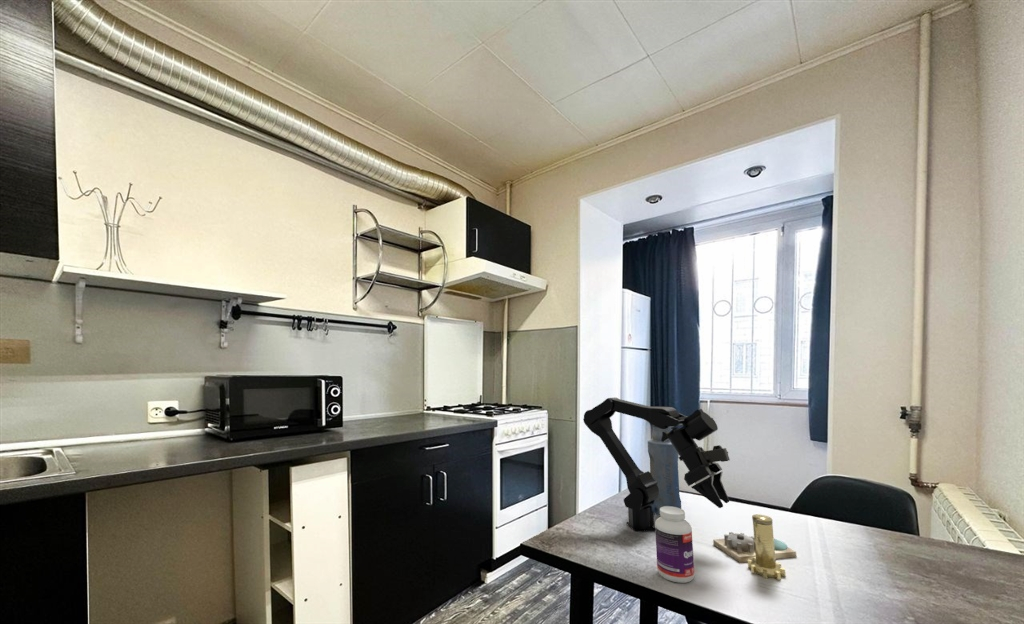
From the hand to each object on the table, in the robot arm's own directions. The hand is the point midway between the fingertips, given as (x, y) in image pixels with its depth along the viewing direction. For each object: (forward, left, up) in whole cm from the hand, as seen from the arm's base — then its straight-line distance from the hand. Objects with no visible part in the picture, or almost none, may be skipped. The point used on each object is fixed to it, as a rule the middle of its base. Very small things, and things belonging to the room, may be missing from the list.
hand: (724, 504), depth 103 cm
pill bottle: (-18, -6, -13) cm, 23 cm away
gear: (+4, -8, -12) cm, 15 cm away
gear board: (+9, +2, -12) cm, 15 cm away
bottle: (+1, +31, -13) cm, 33 cm away
